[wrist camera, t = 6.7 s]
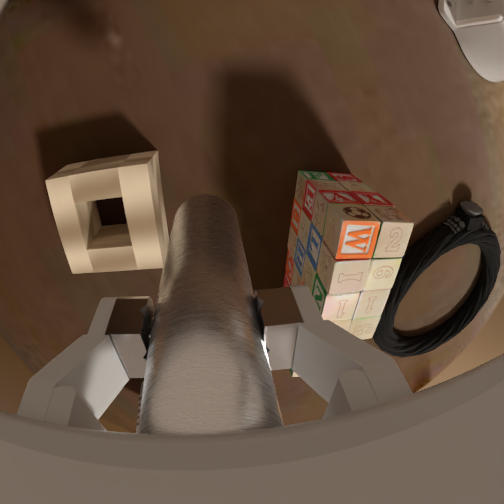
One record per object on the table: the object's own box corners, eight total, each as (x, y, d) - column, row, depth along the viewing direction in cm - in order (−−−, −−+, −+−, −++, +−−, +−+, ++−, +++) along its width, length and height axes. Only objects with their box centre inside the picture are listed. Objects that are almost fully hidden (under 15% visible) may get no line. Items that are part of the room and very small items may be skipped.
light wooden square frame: (67, 164, 25) (45, 180, 21) (157, 150, 26) (147, 163, 22) (87, 248, 31) (72, 273, 26) (169, 241, 32) (163, 267, 27)
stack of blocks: (318, 320, 41) (346, 391, 31) (275, 323, 40) (295, 399, 30) (351, 172, 30) (416, 223, 20) (296, 168, 29) (344, 220, 19)
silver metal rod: (169, 195, 13) (104, 601, 1) (238, 191, 13) (349, 595, 1) (177, 255, 15) (163, 589, 3) (239, 250, 15) (309, 581, 3)
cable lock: (359, 376, 46) (405, 215, 30) (352, 360, 49) (388, 201, 33) (471, 339, 48) (525, 208, 32) (462, 327, 51) (511, 198, 35)
